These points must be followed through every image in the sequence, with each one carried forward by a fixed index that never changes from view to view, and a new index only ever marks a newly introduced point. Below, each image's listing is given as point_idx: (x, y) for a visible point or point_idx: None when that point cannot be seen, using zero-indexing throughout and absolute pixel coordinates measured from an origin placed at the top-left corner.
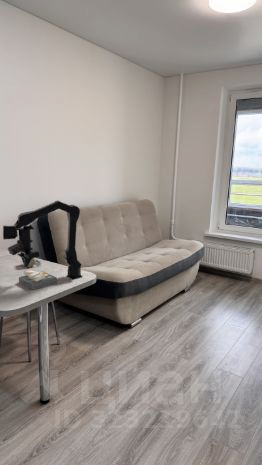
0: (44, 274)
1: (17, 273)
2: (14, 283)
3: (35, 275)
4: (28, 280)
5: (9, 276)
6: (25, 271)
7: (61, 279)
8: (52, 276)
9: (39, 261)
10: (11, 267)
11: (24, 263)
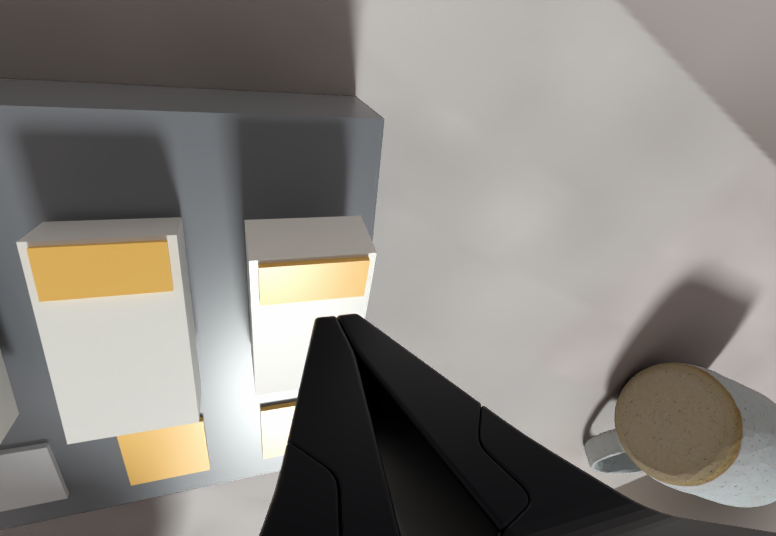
0: (197, 448)
1: (619, 238)
2: (368, 11)
3: (48, 340)
4: (47, 157)
5: (633, 121)
6: (328, 265)
7: (102, 516)
8: (45, 506)
9: (625, 471)
10: (764, 263)
11: (350, 389)
